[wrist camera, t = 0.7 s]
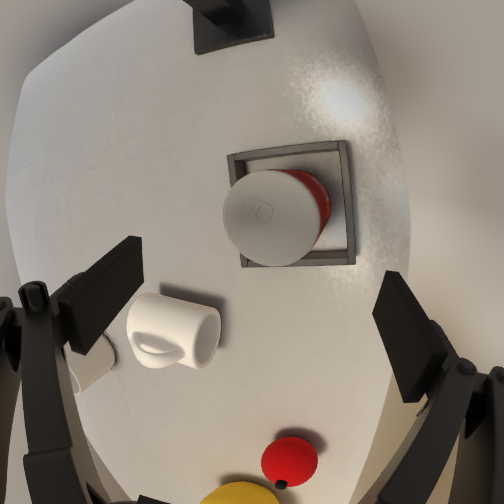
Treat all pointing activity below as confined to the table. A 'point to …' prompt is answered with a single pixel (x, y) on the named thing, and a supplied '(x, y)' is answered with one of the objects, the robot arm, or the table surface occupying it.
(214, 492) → the vase
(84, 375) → the mug
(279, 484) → the ornament
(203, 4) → the steel stand
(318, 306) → the table surface
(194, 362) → the mug
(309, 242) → the canned food
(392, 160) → the table surface
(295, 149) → the grey square frame
